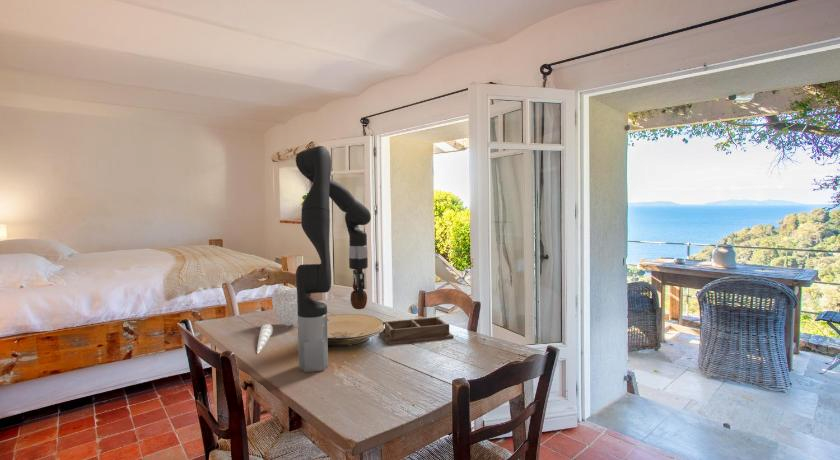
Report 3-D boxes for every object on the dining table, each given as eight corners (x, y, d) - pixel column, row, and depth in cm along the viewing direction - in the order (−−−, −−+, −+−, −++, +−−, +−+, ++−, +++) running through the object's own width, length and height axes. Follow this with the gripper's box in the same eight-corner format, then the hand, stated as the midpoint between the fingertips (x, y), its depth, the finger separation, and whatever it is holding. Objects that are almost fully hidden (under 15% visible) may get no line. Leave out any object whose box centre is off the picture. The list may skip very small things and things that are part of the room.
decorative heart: (266, 325, 179) (265, 286, 178) (285, 319, 188) (285, 282, 187) (293, 332, 169) (292, 291, 168) (313, 325, 178) (312, 286, 177)
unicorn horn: (246, 356, 143) (245, 342, 143) (261, 335, 167) (261, 323, 166) (260, 355, 144) (260, 341, 144) (273, 334, 167) (273, 323, 167)
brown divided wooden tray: (453, 338, 160) (453, 325, 160) (388, 345, 152) (388, 332, 152) (439, 326, 176) (439, 315, 175) (379, 332, 168) (379, 320, 167)
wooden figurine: (369, 308, 169) (369, 271, 168) (360, 311, 164) (360, 273, 163) (357, 306, 172) (357, 270, 172) (348, 308, 168) (347, 272, 167)
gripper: (346, 255, 173) (347, 294, 174) (351, 258, 159) (352, 301, 160) (364, 254, 175) (364, 293, 176) (370, 258, 162) (371, 299, 162)
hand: (358, 296), depth 168 cm, fingers closed on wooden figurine, 7 cm apart
